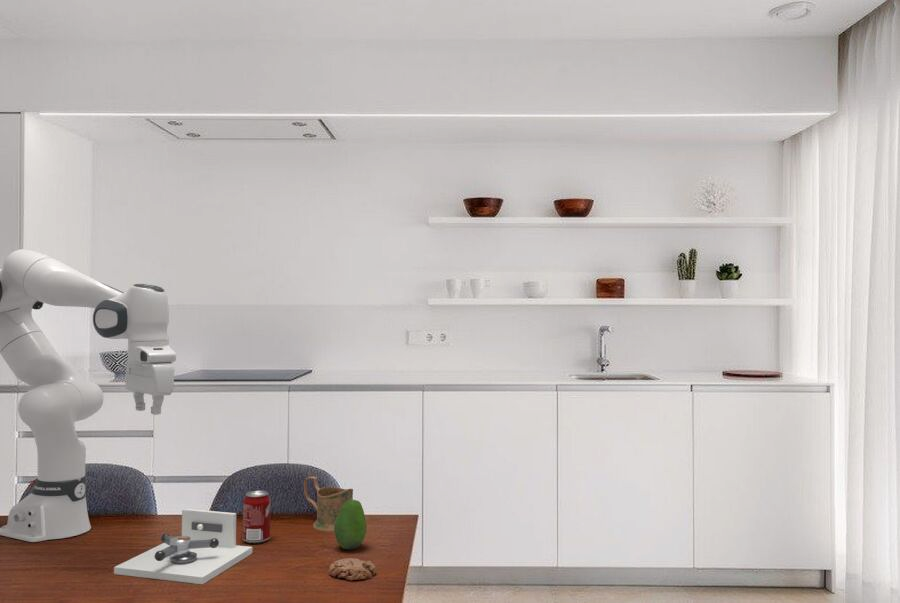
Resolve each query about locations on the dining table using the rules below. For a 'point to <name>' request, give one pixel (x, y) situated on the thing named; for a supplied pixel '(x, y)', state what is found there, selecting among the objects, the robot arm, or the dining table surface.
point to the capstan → (182, 548)
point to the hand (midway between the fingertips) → (148, 412)
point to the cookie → (352, 569)
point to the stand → (208, 559)
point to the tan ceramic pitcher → (327, 504)
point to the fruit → (350, 525)
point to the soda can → (256, 517)
